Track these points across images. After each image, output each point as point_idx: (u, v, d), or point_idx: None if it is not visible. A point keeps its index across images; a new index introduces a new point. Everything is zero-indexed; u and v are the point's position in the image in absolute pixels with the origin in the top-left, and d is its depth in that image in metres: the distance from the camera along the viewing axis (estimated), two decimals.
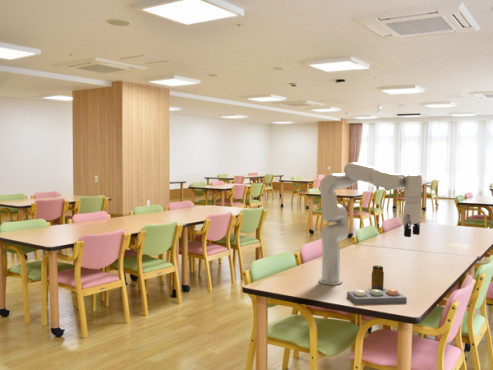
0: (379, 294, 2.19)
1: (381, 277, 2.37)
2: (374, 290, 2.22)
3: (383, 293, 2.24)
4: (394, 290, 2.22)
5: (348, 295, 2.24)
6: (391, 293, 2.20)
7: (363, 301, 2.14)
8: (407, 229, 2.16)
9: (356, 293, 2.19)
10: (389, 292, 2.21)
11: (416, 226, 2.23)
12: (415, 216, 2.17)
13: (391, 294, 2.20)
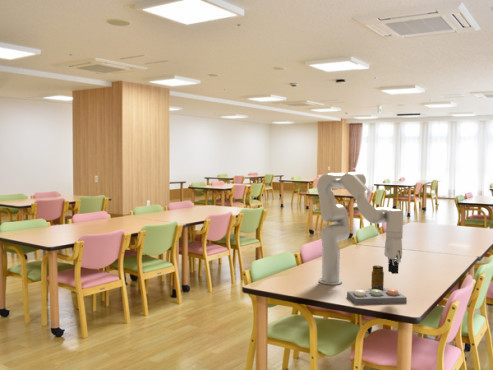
0: (379, 294, 2.19)
1: (381, 277, 2.37)
2: (374, 290, 2.22)
3: (383, 293, 2.24)
4: (394, 290, 2.22)
5: (348, 295, 2.24)
6: (391, 293, 2.20)
7: (363, 301, 2.14)
8: (396, 266, 2.19)
9: (356, 293, 2.19)
10: (389, 292, 2.21)
11: None
12: None
13: (391, 294, 2.20)
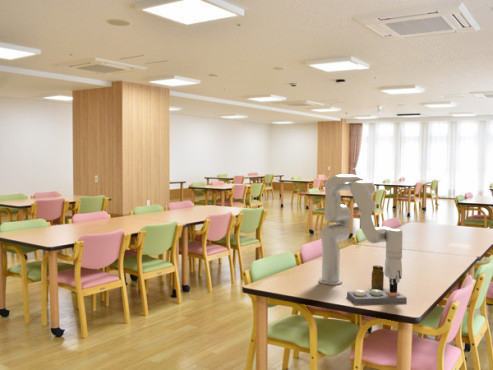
0: (379, 294, 2.19)
1: (381, 277, 2.37)
2: (374, 290, 2.22)
3: (383, 293, 2.24)
4: None
5: (348, 295, 2.24)
6: (391, 294, 2.20)
7: (363, 301, 2.14)
8: (395, 285, 2.20)
9: (356, 293, 2.19)
10: (389, 294, 2.21)
11: None
12: None
13: None
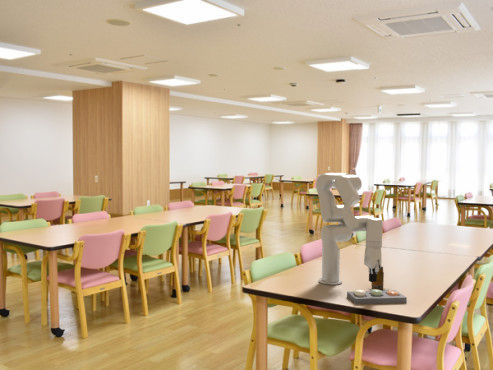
0: (379, 294, 2.19)
1: (381, 277, 2.37)
2: (374, 290, 2.22)
3: (383, 293, 2.24)
4: (394, 292, 2.22)
5: (348, 295, 2.24)
6: (391, 295, 2.20)
7: (363, 301, 2.14)
8: (374, 274, 2.19)
9: (356, 293, 2.19)
10: (389, 294, 2.21)
11: None
12: None
13: None
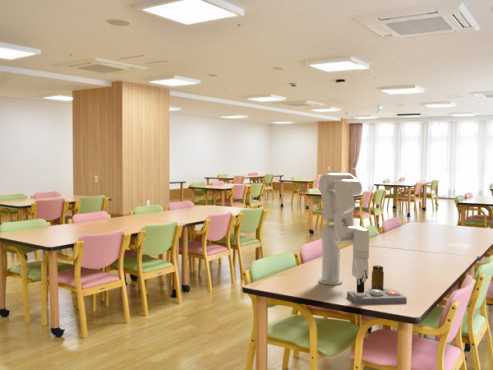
0: (379, 294, 2.19)
1: (381, 277, 2.37)
2: (374, 290, 2.22)
3: (383, 293, 2.24)
4: (394, 292, 2.22)
5: (348, 295, 2.24)
6: (391, 295, 2.20)
7: (363, 301, 2.14)
8: (362, 285, 2.18)
9: (356, 294, 2.19)
10: (389, 294, 2.21)
11: None
12: None
13: None
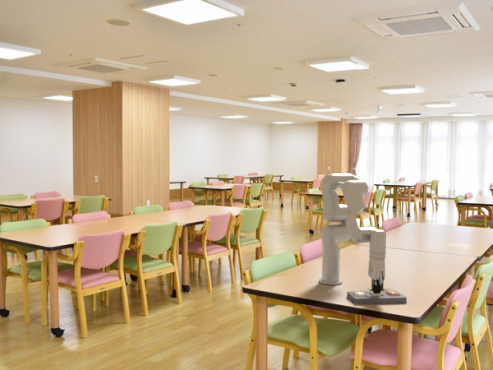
0: None
1: None
2: None
3: (383, 293, 2.24)
4: (394, 292, 2.22)
5: (348, 295, 2.24)
6: (391, 295, 2.20)
7: (363, 301, 2.14)
8: (378, 286, 2.19)
9: (356, 295, 2.19)
10: (389, 294, 2.21)
11: None
12: None
13: None
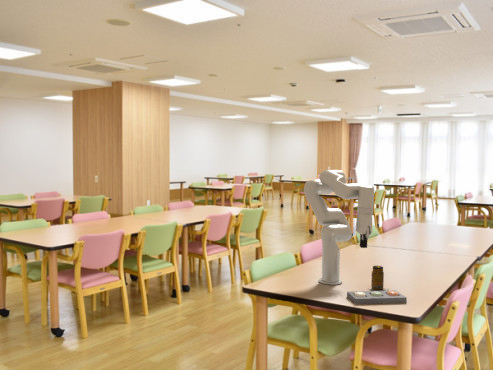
0: None
1: (381, 277, 2.37)
2: (374, 292, 2.22)
3: (383, 293, 2.24)
4: (394, 292, 2.22)
5: (348, 295, 2.24)
6: (391, 295, 2.20)
7: (363, 301, 2.14)
8: (365, 240, 2.25)
9: (356, 295, 2.19)
10: (389, 294, 2.21)
11: None
12: None
13: None
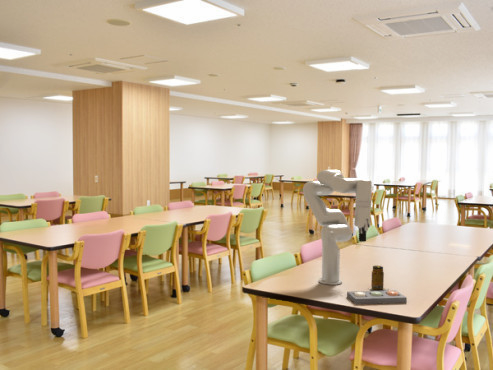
0: None
1: (381, 277, 2.37)
2: (374, 292, 2.22)
3: (383, 293, 2.24)
4: (394, 292, 2.22)
5: (348, 295, 2.24)
6: (391, 295, 2.20)
7: (363, 301, 2.14)
8: (364, 234, 2.26)
9: (356, 295, 2.19)
10: (389, 294, 2.21)
11: None
12: None
13: None
